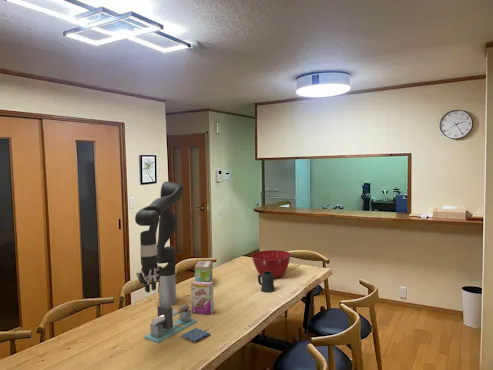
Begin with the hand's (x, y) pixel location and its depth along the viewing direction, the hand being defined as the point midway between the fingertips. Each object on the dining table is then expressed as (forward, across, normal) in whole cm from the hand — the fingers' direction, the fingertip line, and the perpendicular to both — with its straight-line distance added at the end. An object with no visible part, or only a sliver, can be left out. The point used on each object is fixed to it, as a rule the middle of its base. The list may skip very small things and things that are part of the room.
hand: (150, 290), depth 166 cm
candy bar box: (+23, -36, -1) cm, 43 cm away
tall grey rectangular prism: (+20, -8, 0) cm, 22 cm away
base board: (+23, -12, 0) cm, 26 cm away
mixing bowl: (+23, -111, -2) cm, 113 cm away
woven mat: (+24, -13, +15) cm, 31 cm away
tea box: (+23, -71, -31) cm, 81 cm away
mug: (+23, -84, +10) cm, 88 cm away
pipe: (+23, -12, 0) cm, 26 cm away
